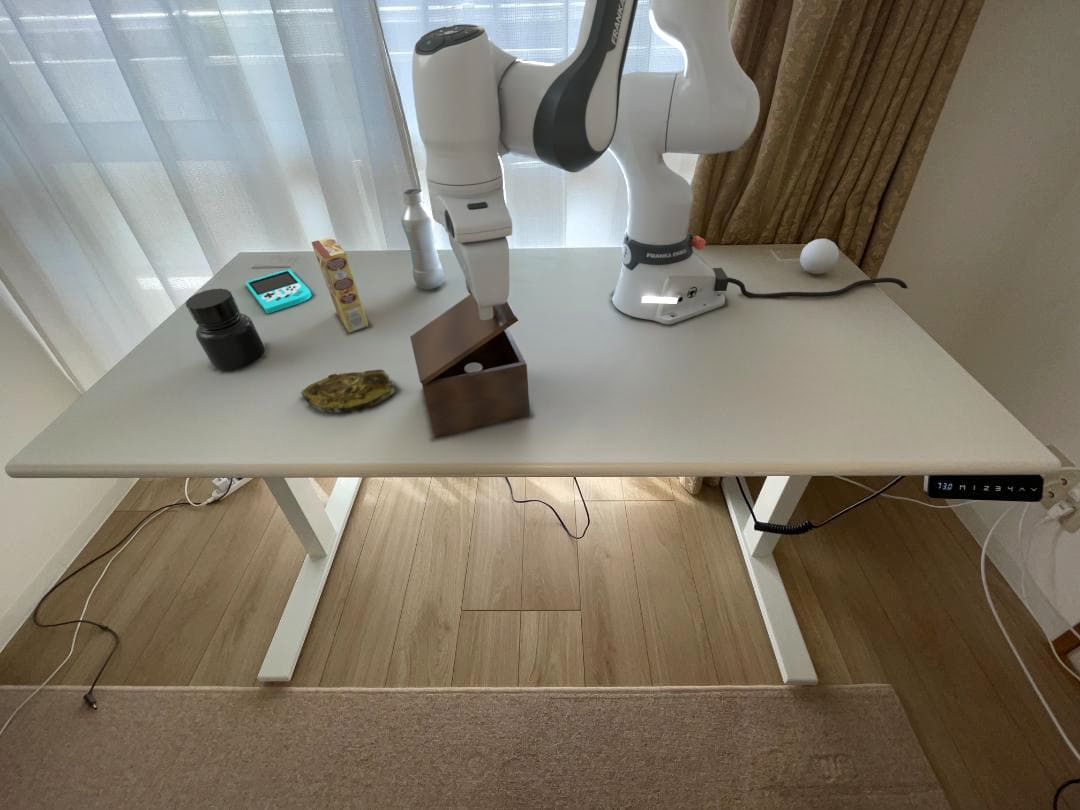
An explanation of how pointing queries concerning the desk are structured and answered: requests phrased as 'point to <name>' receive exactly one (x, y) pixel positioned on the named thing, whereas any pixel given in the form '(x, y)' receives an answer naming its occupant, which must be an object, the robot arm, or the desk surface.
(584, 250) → the desk surface
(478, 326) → the lid
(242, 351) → the ink bottle
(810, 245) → the white egg
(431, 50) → the robot arm
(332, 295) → the candy box
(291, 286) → the handheld game console
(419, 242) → the plastic bottle
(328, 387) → the mossy rock
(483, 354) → the chest
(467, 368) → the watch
